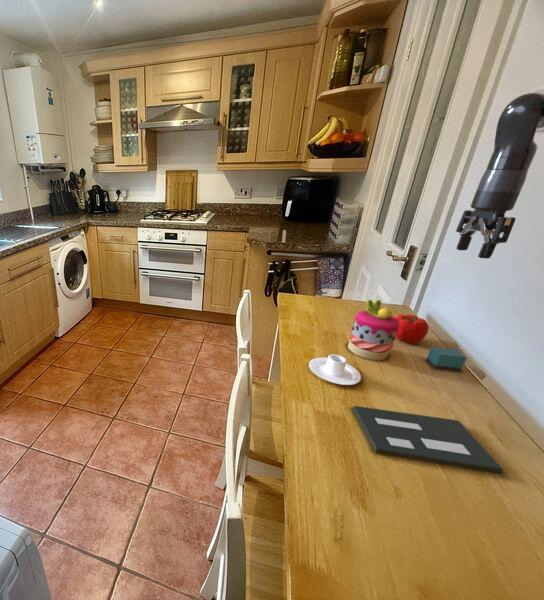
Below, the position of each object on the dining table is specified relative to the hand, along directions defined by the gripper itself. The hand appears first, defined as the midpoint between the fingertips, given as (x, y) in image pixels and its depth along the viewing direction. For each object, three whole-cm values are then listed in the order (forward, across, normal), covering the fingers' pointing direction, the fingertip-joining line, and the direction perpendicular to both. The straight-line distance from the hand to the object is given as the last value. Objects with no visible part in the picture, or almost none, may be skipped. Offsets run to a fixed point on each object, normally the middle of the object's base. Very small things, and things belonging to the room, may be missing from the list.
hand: (471, 253), depth 84 cm
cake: (+29, -7, +20) cm, 36 cm away
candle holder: (+29, -21, +33) cm, 49 cm away
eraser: (+29, -10, +3) cm, 31 cm away
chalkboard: (+29, -41, +23) cm, 55 cm away
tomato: (+29, +4, +6) cm, 30 cm away
